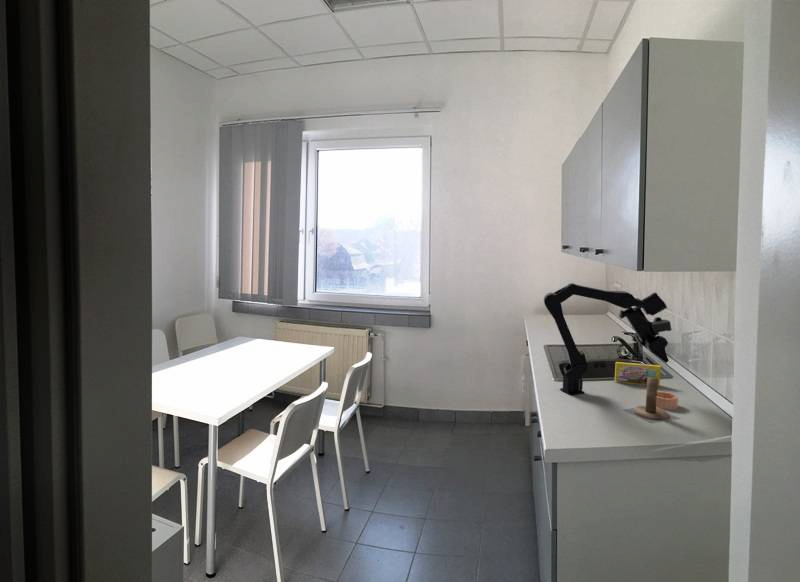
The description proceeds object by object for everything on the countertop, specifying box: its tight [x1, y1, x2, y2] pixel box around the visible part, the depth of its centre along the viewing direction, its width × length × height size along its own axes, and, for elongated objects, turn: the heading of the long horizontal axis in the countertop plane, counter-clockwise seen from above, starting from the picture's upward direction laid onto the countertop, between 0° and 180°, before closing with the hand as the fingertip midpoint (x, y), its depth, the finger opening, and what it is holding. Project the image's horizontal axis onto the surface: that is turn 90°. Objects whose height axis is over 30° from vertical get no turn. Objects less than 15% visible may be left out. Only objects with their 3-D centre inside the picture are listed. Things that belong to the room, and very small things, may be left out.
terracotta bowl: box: [656, 390, 679, 411], centre depth 160 cm, size 8×8×4 cm
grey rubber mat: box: [622, 407, 681, 424], centre depth 152 cm, size 12×12×1 cm
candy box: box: [614, 361, 662, 387], centre depth 185 cm, size 16×2×8 cm, turn 71°
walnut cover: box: [633, 377, 669, 420], centre depth 152 cm, size 10×10×12 cm
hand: (662, 358), depth 167 cm, fingers open, 9 cm apart
